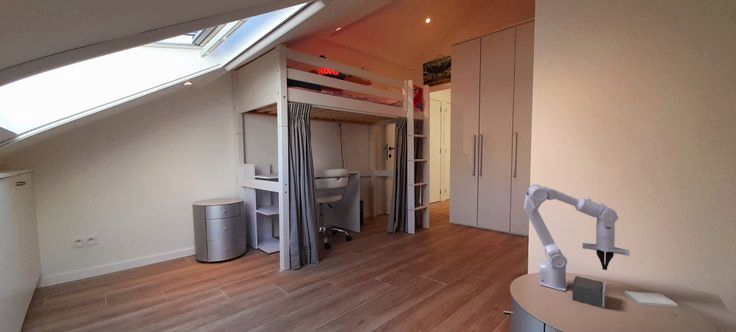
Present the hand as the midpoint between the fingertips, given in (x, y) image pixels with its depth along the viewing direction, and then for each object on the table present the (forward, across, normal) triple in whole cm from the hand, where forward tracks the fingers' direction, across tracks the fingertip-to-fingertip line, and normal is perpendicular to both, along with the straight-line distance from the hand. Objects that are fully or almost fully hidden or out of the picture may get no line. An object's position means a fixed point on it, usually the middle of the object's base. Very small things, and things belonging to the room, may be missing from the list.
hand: (604, 269), depth 115 cm
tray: (+9, -5, -11) cm, 15 cm away
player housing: (+9, -5, -11) cm, 15 cm away
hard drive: (+10, +13, +2) cm, 17 cm away
